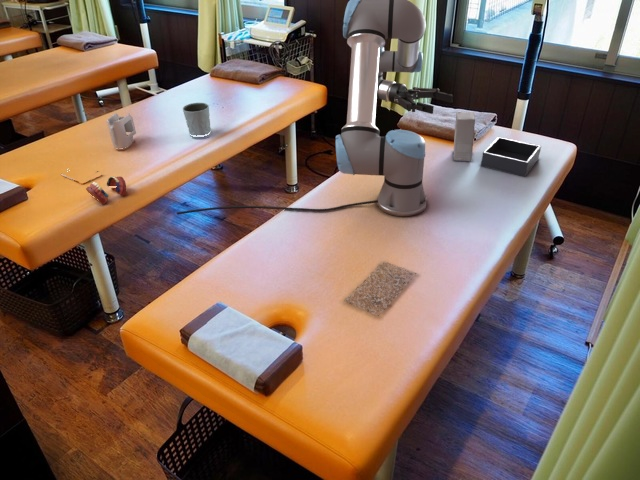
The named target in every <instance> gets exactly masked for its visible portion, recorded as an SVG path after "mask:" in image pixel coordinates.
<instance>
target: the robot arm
mask: <svg viewBox="0 0 640 480" xmlns="http://www.w3.org/2000/svg"><path fill="white" fill-rule="evenodd" d="M426 29H427V23H426V17H425V15H424V14H423V12H422V11H421V9H420V8H419V7H418V6H417V5H416V4H415V3H414V2H411V1H410V0H349V1H348V2H347V4H346V7H345V11H344V17H343V25H342V36H343V38H344V39H346V43H347V45H348V46H349V47H350V49H351V54H350V55H351V57H350V70H349V85H348V97H347V98H348V99H347V112H346V113H347V114H346V124H345V125H343V127H342V128H340V129H341V131H340V134H337V135H335V155H336V157H335V158H336V164H337V168H338V171H339V172H340V173H341V174H345V175H352V176H355V175H361V176H364V175H365V176H377V177H378V176H382V177H384V178H383V183H382V186H381V187H380V190H379V192H378V195H377V199H374V200H369V201H361V202H354V203H348V204H344V205H339V206H334V207H329V208H328V207H327V208H306V207H289V206H288V207H287V206H270V205H269V206H267V205H229V206H227V205H225V206H216V207H215V206H214V207H205V208H198V209H197V208H196V209H190V210H183V211H177V212H176V215H183V214H189V213H191V214H192V213H197V212H206V211H215V210H216V211H217V210H228V209H266V210H283V211H284V210H285V211H300V212H301V211H304V212H329V211H335V210H340V209H343V208H349V207H355V206H361V205H362V206H363V205H368V204H369V205H370V204H376V205H377V207H378V208H379V210H381V212H383V213H386V214H388V215H391V216H394V217H413V216H417V215H419V214H421V213H422V212H424V211H425V209H426V207H427V195H426V193H425V189H424V184H423V181H424V180H423V179H424V166H425V157H426V155H427V152H426V141H425V140H424V137H422V136H421V135H420V134H418V133H416V132H414V131H411V130H406V129H394V130H393V129H392V130H389V131H388V132H387V133H386V135H385V136H382V135H381V136H380V132H381V131H380V129H379V128H378V127H377V126H376V117H377V116H376V114H377V102H378V101H377V99H378V100H381V101H384V102H386V103H387V102H390V103H392V104H395V105H398V106H400V107H401V108H403V109H404V110H406V111H408V112H412V113H415V112H416V111H419V112H423V113H426V114H430V115H433V114H434V109H435V106H434V105H431V104H427V103H425V102H420V101H419V100H420V99H435V100H438V101H442V102H447V103H453V98H454V95H453V94H451V93H446V92H442V91H440V89H439V88H431V87H429V88H428V87H417V86H412V88H407V86H406V84H405V83H401V82H397V81H393V80H388V79H384V78H383V76H384V73H412V74H413V73H421V72H422V70H423V69H422V68H423V61H424V53H423V51H420V45H421V40H422V38H423V37H424V35H425V33H426ZM386 40H397V48H396V49H397V50H385V45H386ZM415 100H417V102H415Z"/></svg>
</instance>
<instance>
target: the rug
mask: <svg viewBox="0 0 640 480" xmlns="http://www.w3.org/2000/svg"><path fill="white" fill-rule="evenodd" d="M381 270H382V271H381ZM376 274H377V276H376ZM416 274H417V272H414V273H413V271H410V270H408V269H406V268H404V267H402V266H398V265H396V264H391V263H389V262H387V261H386V260H383V262H382V263H380V265H378V266H377V267H376V268H375V269H374V271H371V272H370V273H369V276H368V279H364V280H363V283H360V284H359V285H358V286H356V288H355V290H352V292H351V293H350V294H349V296H348V297H347V298H346V299H345V300H344V302H346V303H347V304H349V305H351V304H352V306H355V307H359V309H362V310H365V311H367V312H371V314H372V315H376V316H378V317H379V316H380V315H381V314H382V313H383V312H384V311H385V310H386V308H388V305H390V304H391V303H392V302H393V300H394V299H395V298H396V297H398V296H399V294H401V292H402V291H403V286H404V287H406V286H407V285H409V282H411V281H412V279H413V278H414V277H415V276H416ZM362 289H363V290H362ZM353 293H354V295H353ZM387 293H390V294H387ZM386 297H387V298H386ZM352 299H353V300H352ZM357 303H358V304H357ZM369 304H371V305H369Z"/></svg>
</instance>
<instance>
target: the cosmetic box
mask: <svg viewBox="0 0 640 480" xmlns="http://www.w3.org/2000/svg"><path fill="white" fill-rule="evenodd" d="M475 125H476V112H474V111H457V112H456V115H455V123H454V134H453V135H454V137H453V140H454V141H453V161H458V162H459V161H460V162H462V161H463V162H472V161H473V150H474V148H473V147H474V139H475V137H474V136H475Z"/></svg>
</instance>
